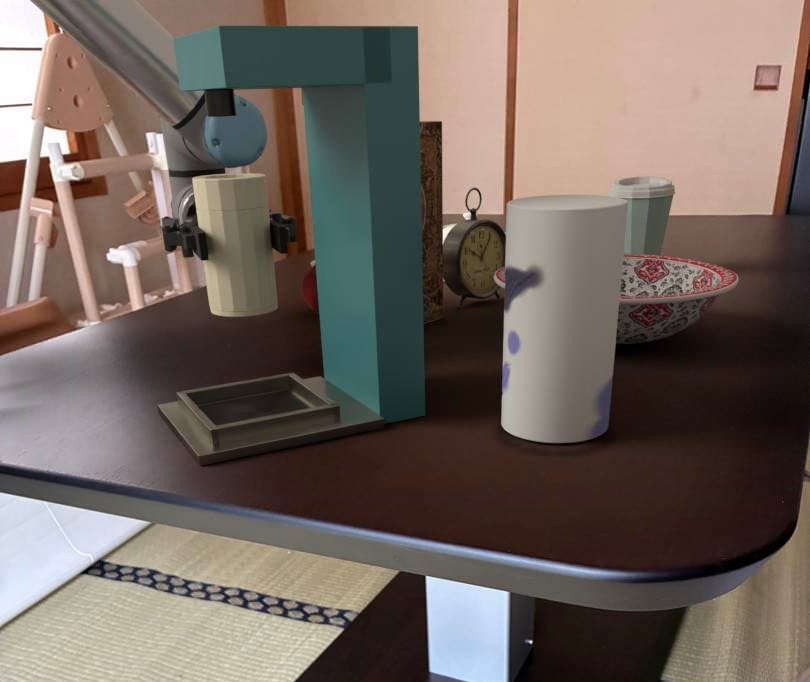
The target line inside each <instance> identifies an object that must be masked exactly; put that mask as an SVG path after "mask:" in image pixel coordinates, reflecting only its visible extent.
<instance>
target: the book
mask: <svg viewBox="0 0 810 682" xmlns="http://www.w3.org/2000/svg"><path fill="white" fill-rule="evenodd" d="M420 162H421V215H422V268H423V321H424V325H426V324H429V323H432V322H436V321H439V320H442V319H444V281H443V226H444V224H443V223H444V222H443V221H444V220H443V219H444V218H443V214H444V213H443V212H444V209H443V208H444V207H443V202H444V201H443V197H444V196H443V121H440V120H425V121H423V120H422V121H421V120H420Z"/></svg>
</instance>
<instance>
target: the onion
mask: <svg viewBox="0 0 810 682" xmlns="http://www.w3.org/2000/svg"><path fill="white" fill-rule="evenodd" d="M300 293H301V297H302V300H303V301H304V302H305V303H306V305H307V307H309V308H310V309H311V310H313V311H314V312H316V314H318V315H319V302H318V289H317V276H316V263H315V265H314V266H313V267H310V269H308V271H306V273H305V274H304V276H303V278H302V280H301V283H300Z"/></svg>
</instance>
